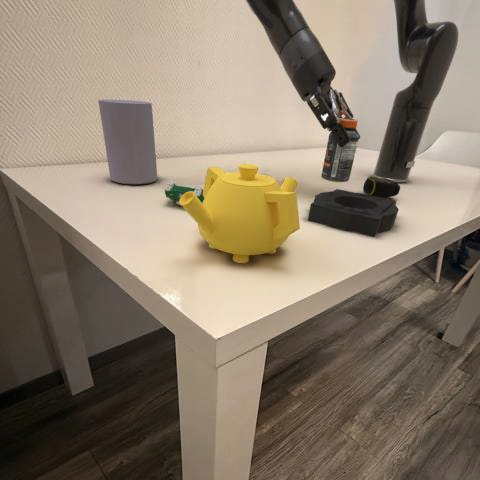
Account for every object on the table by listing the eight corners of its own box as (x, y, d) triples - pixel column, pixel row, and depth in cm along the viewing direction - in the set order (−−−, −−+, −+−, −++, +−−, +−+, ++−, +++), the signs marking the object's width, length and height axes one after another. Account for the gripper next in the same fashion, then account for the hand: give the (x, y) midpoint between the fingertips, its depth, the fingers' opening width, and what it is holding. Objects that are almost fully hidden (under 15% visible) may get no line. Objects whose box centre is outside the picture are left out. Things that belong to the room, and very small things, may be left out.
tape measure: (398, 200, 75) (403, 183, 73) (373, 201, 74) (378, 183, 71) (379, 192, 81) (384, 175, 79) (355, 192, 79) (359, 176, 77)
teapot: (251, 218, 59) (257, 149, 53) (333, 254, 49) (353, 172, 42) (149, 242, 48) (141, 157, 41) (228, 295, 37) (233, 192, 31)
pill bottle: (320, 175, 74) (331, 116, 68) (346, 177, 74) (360, 118, 67) (321, 181, 70) (333, 118, 63) (350, 184, 69) (365, 121, 62)
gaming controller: (170, 209, 66) (156, 192, 60) (176, 192, 66) (163, 174, 60) (212, 217, 64) (203, 200, 58) (218, 199, 64) (209, 181, 58)
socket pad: (327, 201, 71) (330, 187, 69) (399, 217, 65) (405, 202, 63) (299, 219, 60) (302, 202, 59) (382, 239, 54) (388, 221, 53)
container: (101, 182, 72) (87, 100, 64) (124, 172, 81) (115, 99, 72) (145, 187, 71) (137, 104, 62) (164, 177, 79) (159, 102, 71)
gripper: (307, 44, 57) (357, 132, 59) (335, 52, 67) (377, 127, 69) (276, 80, 62) (323, 160, 64) (306, 83, 72) (346, 151, 74)
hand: (351, 142), depth 67 cm, fingers closed on pill bottle, 6 cm apart
